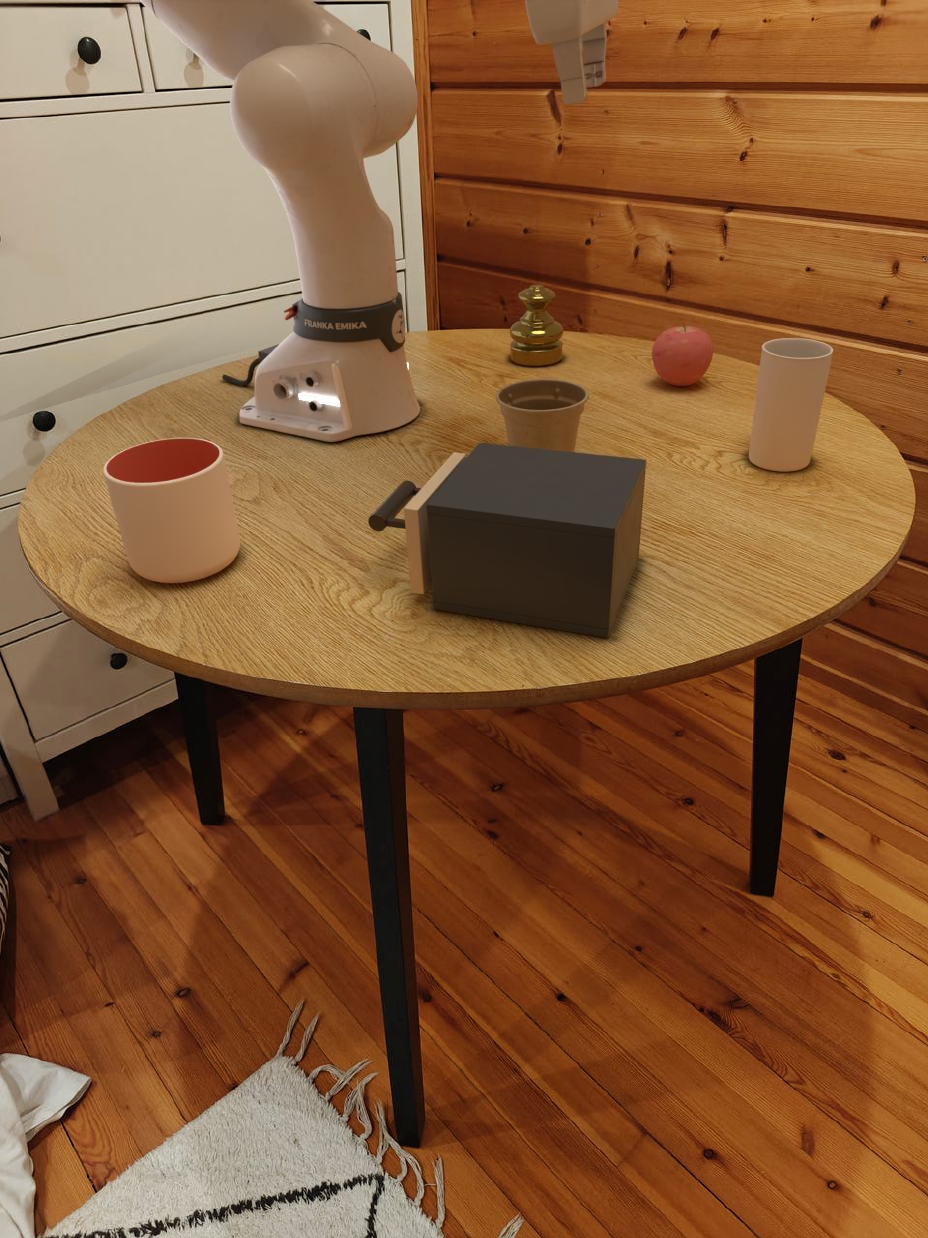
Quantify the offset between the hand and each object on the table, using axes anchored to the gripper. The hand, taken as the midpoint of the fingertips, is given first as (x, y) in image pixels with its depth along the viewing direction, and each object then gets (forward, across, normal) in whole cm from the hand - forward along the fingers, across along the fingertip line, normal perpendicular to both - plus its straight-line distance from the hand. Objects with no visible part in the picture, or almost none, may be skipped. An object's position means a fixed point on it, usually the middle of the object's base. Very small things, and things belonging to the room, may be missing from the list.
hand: (585, 93), depth 77 cm
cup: (+29, +30, -34) cm, 54 cm away
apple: (+38, -26, +4) cm, 46 cm away
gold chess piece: (+35, -33, -17) cm, 51 cm away
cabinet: (+33, +26, -2) cm, 42 cm away
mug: (+38, -6, +16) cm, 41 cm away
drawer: (+32, +26, -7) cm, 42 cm away
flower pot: (+34, +4, -7) cm, 35 cm away
